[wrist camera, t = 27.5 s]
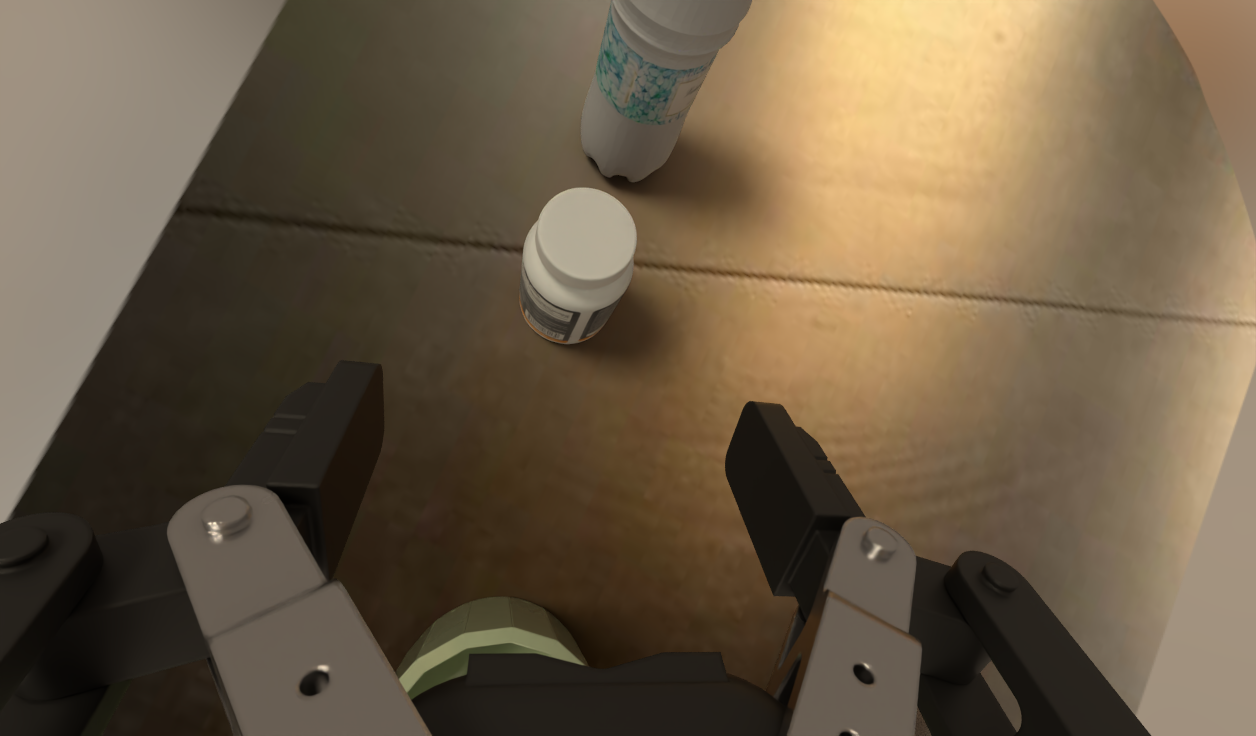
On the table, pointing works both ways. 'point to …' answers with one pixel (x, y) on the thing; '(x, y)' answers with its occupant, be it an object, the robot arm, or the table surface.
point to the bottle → (651, 78)
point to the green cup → (483, 640)
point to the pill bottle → (576, 264)
